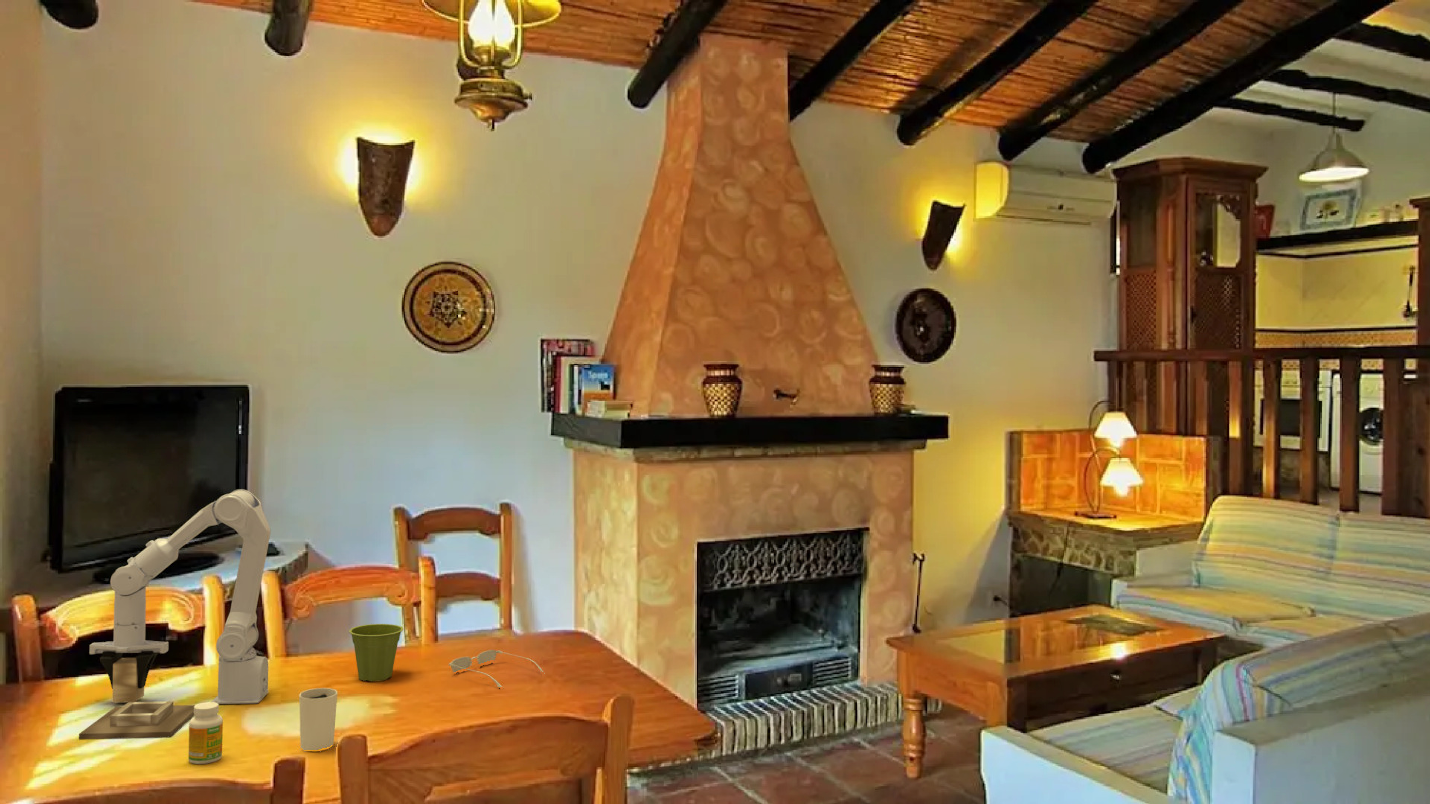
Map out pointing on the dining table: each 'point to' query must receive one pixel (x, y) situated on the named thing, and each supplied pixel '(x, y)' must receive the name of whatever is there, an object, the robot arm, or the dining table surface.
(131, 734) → the square peg socket base
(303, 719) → the beige cup
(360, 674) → the plant pot
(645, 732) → the dining table surface
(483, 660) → the eyeglasses
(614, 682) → the dining table surface
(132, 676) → the birch peg
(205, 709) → the supplement bottle
